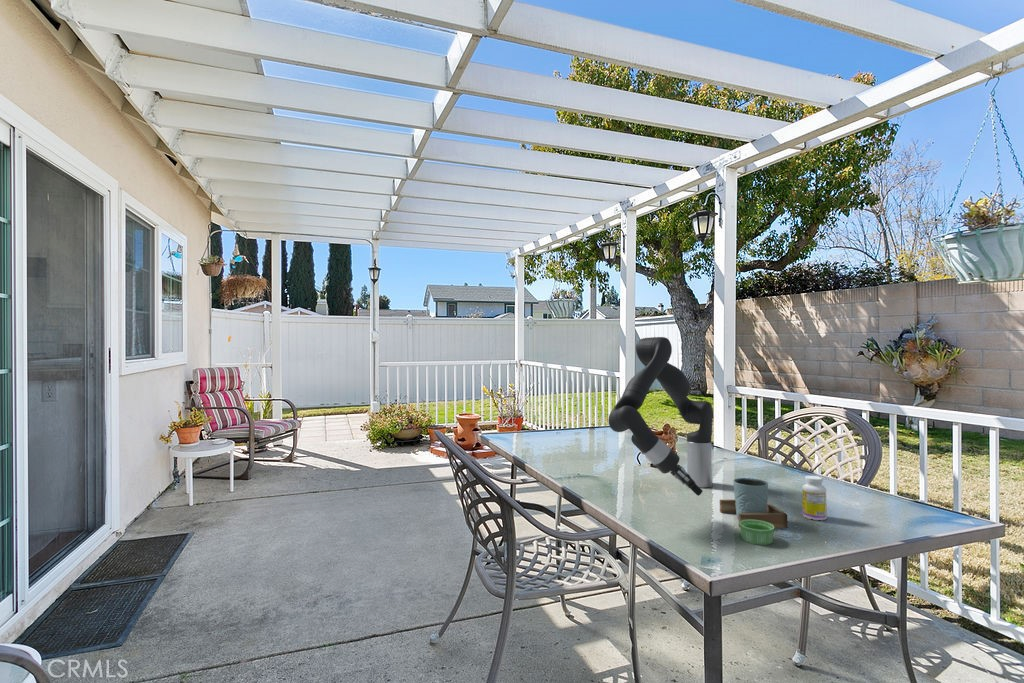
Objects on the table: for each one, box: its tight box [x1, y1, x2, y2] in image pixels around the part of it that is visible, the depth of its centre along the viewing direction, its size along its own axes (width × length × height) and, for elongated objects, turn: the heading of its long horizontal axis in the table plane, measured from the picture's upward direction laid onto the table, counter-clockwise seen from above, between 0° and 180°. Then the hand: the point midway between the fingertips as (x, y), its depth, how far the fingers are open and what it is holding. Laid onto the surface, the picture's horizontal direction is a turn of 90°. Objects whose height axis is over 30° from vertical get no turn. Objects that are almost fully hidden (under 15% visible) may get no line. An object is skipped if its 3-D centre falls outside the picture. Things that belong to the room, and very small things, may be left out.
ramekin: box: [738, 519, 775, 546], centre depth 144 cm, size 9×9×4 cm
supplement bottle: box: [801, 475, 828, 521], centre depth 162 cm, size 7×7×13 cm
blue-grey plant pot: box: [732, 477, 769, 521], centre depth 161 cm, size 10×10×12 cm
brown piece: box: [719, 499, 789, 529], centre depth 161 cm, size 15×14×4 cm
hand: (699, 493), depth 161 cm, fingers closed
